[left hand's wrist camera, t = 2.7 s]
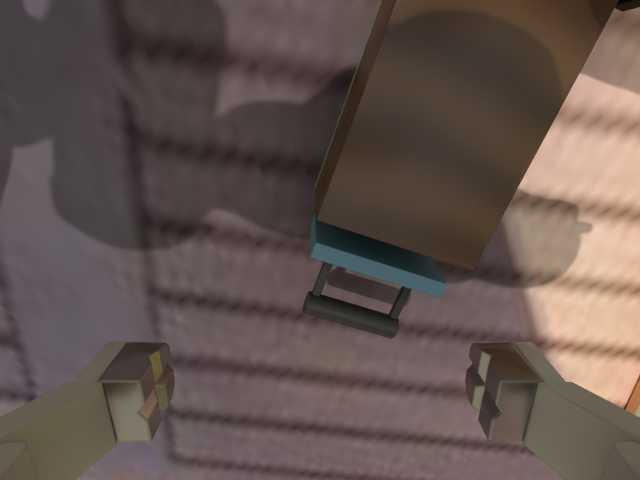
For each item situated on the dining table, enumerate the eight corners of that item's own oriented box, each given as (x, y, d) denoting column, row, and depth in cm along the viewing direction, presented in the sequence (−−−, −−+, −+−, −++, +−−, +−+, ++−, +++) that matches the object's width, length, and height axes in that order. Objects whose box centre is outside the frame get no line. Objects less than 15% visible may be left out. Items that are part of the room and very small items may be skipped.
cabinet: (434, 227, 35) (473, 271, 26) (314, 186, 33) (316, 220, 25) (572, -61, 27) (686, -124, 19) (426, -131, 26) (480, -232, 17)
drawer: (392, 310, 36) (409, 357, 30) (290, 279, 35) (285, 322, 29) (540, 2, 28) (607, -22, 21) (411, -56, 26) (442, -99, 20)
